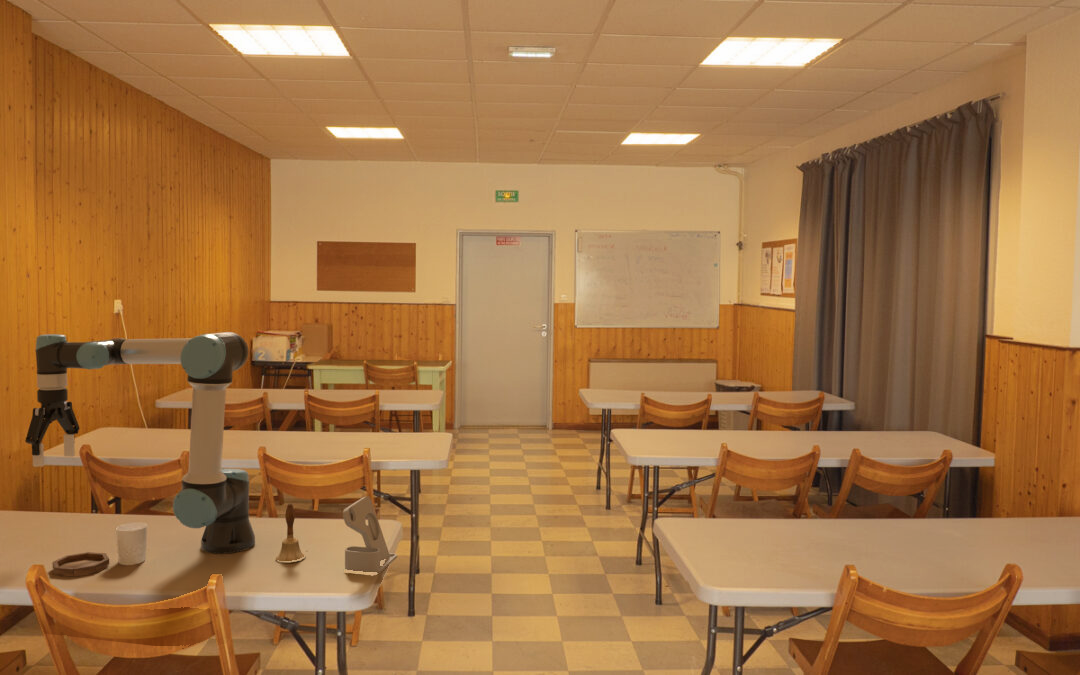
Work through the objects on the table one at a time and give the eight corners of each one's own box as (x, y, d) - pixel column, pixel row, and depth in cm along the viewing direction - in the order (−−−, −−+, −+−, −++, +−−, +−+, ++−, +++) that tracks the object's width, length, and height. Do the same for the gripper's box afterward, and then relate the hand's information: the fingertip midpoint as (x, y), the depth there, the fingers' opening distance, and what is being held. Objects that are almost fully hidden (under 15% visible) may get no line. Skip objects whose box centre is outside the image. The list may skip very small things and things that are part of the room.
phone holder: (375, 576, 222) (376, 512, 221) (340, 573, 224) (341, 509, 223) (398, 556, 239) (399, 495, 238) (365, 553, 241) (366, 493, 240)
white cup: (126, 568, 225) (126, 532, 224) (110, 562, 229) (109, 527, 228) (153, 560, 231) (153, 525, 231) (137, 554, 236) (136, 520, 235)
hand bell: (269, 561, 233) (269, 506, 232) (287, 552, 240) (287, 499, 239) (293, 565, 230) (293, 509, 229) (311, 556, 238) (311, 502, 236)
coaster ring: (118, 561, 230) (118, 554, 229) (86, 578, 217) (86, 570, 217) (76, 558, 231) (76, 551, 231) (42, 574, 219) (42, 566, 218)
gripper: (67, 382, 247) (69, 451, 249) (8, 393, 223) (11, 470, 224) (91, 383, 247) (93, 452, 248) (35, 394, 222) (37, 471, 224)
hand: (54, 461), depth 236 cm, fingers open, 13 cm apart
